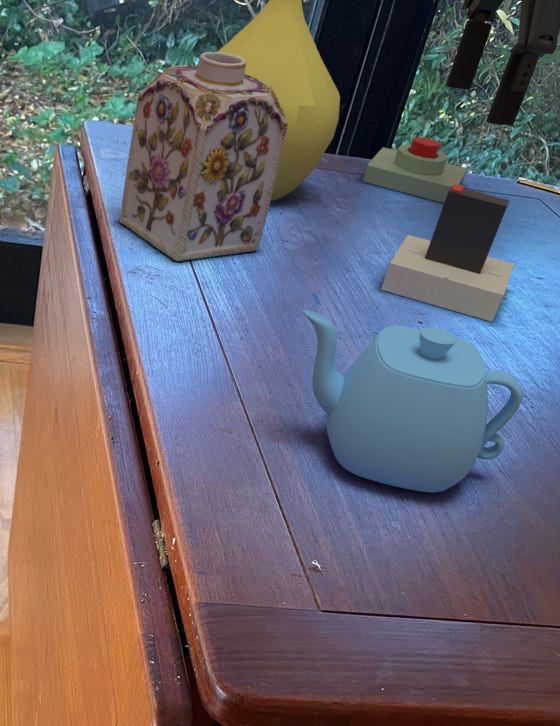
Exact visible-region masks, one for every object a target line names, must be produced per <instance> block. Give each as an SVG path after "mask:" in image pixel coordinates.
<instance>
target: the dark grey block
mask: <svg viewBox="0 0 560 726" xmlns="http://www.w3.org/2000/svg"><path fill="white" fill-rule="evenodd" d="M509 203H510V200H509V199H505V198H502V197H498V196H495V195H490V194H487V193H482V192H479V191H475V190H471V189H468V188H465V187H464V185H462V186H461V185H457V184H454V186H451V188H450V190H449V191H448V194H447V197H446V200H445V203H443V205H442V208H441V211H440V214H439V216H438V220H437V222H436V225H435V228H434V230H433V233H432V236H431V239H430V241H431V242H430V244H429V247H428V250H427V253H426V256H425V258H426V259H430V260H433V261H437V262H440V263H444V264H448V265H451V266H455V267H458V268H462V269H465V270H469V271H473V272H476V273H481V271H482V268H483V266H484V263H485V261H486V258H487V257H489V253H490V251H491V248H492V246H493V243H494V240H495V238H496V236H497V234H498V231H499V228H500V227H501V226H500V225H501V224H502V221H503V218H504V216H505V214H506V211H507V209H508V206H509Z"/></svg>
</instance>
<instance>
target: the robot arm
mask: <svg viewBox="0 0 560 726" xmlns="http://www.w3.org/2000/svg"><path fill="white" fill-rule="evenodd" d="M504 2H505V0H464V1H463V4H462V7H463V9H464V10H465V9H466V10H467V11H466V19H467V20H466V23H465V26H464V29H463V32H462V35H461V38H460V41H459V45H458V47H457V50H456V53H455V55H454V59H453V62H452V64H451V68H450V71H449V74H448V77H447V79H446V82H445V86H446V87H447V88H452V89H461V90H469V91H470V90H471V88H472V85H473V83H474V80H475V77H476V74H477V71H478V69H479V65H480V62H481V59H482V57H483V54H484V51H485V48H486V45H487V42H488V39H489V37H490V33H491V32H492V28H493V24H491V23H496V22H497V11H498V9H499V8H500V7H501V5H502V4H503V3H504ZM518 24H519V25H518V35H517V42H516V43H515V44H514V45H513V46H512V47H511V48H510V49H509V52H510V54H509V58H508V60H507V63H506V65H505V68H504V71H503V74H502V77H501V79H500V82H499V84H498V88H497V90H496V93H495V96H494V99H493V101H492V103H491V107H490V109H489V112H488V115H487V118H486V120H485V121H486V122H487V124H493V125H501V126H510V127H514V124H515V122H516V120H517V118H518V117H517V116H518V114H519V111H520V109H521V107H522V103H523V102H524V98H525V95H526V93H527V90H528V88H529V85H530V82H531V80H532V78H533V75H534V72H535V69H536V67H537V65H538V62H539V59H540V58H543V57H544V56H545V55H553V54H554V53H555V51H556V49H557V47H558V41H559V36H560V0H520V11H519V23H518Z"/></svg>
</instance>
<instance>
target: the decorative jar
mask: <svg viewBox="0 0 560 726" xmlns="http://www.w3.org/2000/svg"><path fill="white" fill-rule="evenodd" d="M245 67H246V61H245V59H243V58H242V57H240V56H237V55H233V54H229V53H223V52H218V51H206V52H203V53H201V54H200V55H199V58H198V65H196V64H195V65H191V64H188V65H185V64H184V65H183V64H181V65H172V66H170V67H168V68H167V69H165V70H164V71H163V72H161V73H160V74H158V75H157V76H155V77H154V79H152V81H151V82H150V83H149V84H147V85H146V86H145V87H144V89H143V90H142V91H141V92H140V93H139V94H138V96H137V100H136V108H135V113H134V121H133V126H132V133H131V140H130V144H129V145H130V147H129V152H128V157H127V165H126V172H125V179H124V186H123V192H122V193H123V194H122V202H121V210H120V217H119V222H120V223H121V224H122V225H124V226H125V227H127V228H129V229H130V230H131V231H132V232H134V233H135V234H137V235H138V236H139V237H141V238H142V239H144V240H145V241H147V242H148V243H150V244H151V245H152V246H153V247H155V248H156V249H158V250H159V251H161V252H162V253H163V254H165V255H167V257H170V258H171V259H172V260H173V261H176V262H180V261H181V262H182V261H188V260H196V259H203V258H210V257H211V258H212V257H220V256H226V255H227V256H229V255H236V254H244V253H250V252H255V251H257V250H258V249H259V247H260V244H261V241H262V236H263V232H264V230H265V229H264V228H265V225H266V222H267V217H268V213H269V209H270V205H271V202H272V201H271V197H272V192H273V188H274V184H275V179H276V175H277V171H278V167H279V162H280V158H281V153H282V148H283V145H284V140H285V135H286V132H287V126H288V125H287V121H286V118H285V115H284V112H283V109H282V108H281V106H280V103H279V101H278V98H277V97H276V95H275V92H274V90H273V88H272V86H270V85H268V84H266V83H264V82H262V81H260V80H258V79H256V78H254V77H251V76H249V75H246V74H245Z"/></svg>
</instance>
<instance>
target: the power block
mask: <svg viewBox="0 0 560 726" xmlns="http://www.w3.org/2000/svg"><path fill="white" fill-rule="evenodd" d="M411 144H412V143H408V144H400V146H399V147H398V148H397V149H396V150H395V149H393V148H387V147H381V149H380V150H379V151H378V152H377V153H376V154H375V156H373V158H372V159H371V160H370V161H369V163H367V165H366V168H365V171H364V175H363V178H362V183H366V184H369V185H374V186H377V187H381V188H385V189H388V190H392V191H396V192H400V193H404V194H408V195H411V196H415V197H418V198H423V199H427V200H430V201H434V202H438V203H441V204H444V203H445V200H446V197H447V194H448V191H449V190H450V188H451V186H454V184H457V185H461V186H463V183H464V180H465V178H466V176H467V172H468V168H466V167H462V166H458V165H455V164H451V163H447V161H448V156H447V155H446V154H445V153H444V152H443V151H440V150H438V152H437V155H436V158H424V157H421V156H417V155H414V154H412V153H410V152H409V150H410V147H411Z"/></svg>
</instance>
